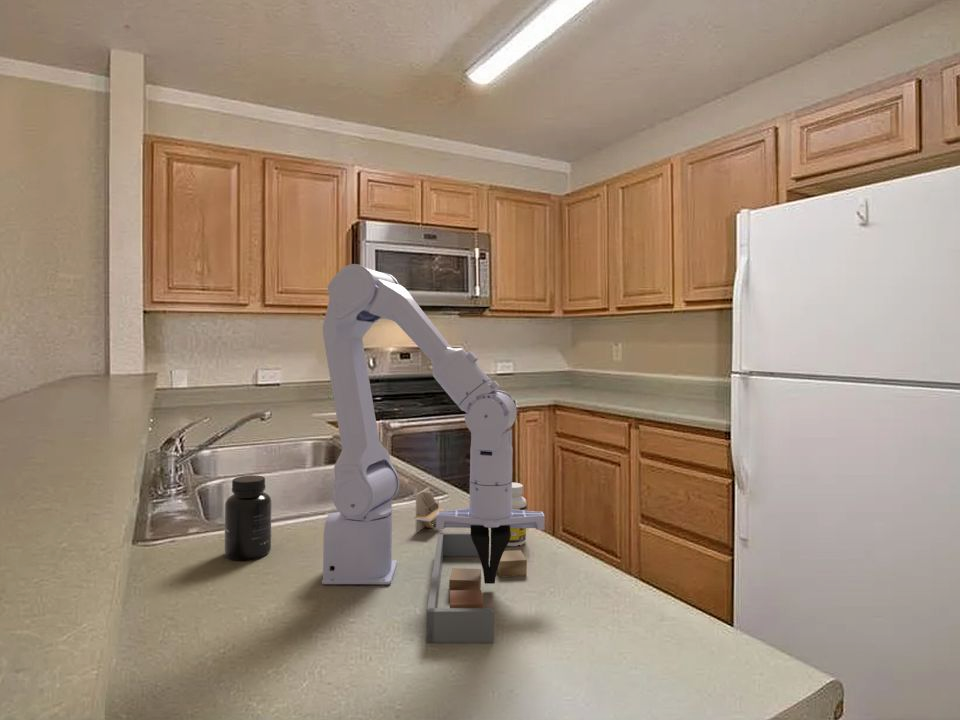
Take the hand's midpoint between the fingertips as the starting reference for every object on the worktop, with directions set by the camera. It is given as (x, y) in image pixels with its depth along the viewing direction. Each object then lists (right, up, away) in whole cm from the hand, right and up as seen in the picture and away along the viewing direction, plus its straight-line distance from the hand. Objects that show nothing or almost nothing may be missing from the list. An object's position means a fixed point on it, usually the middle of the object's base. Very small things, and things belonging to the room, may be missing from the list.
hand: (489, 580), depth 76 cm
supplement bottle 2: (+4, -1, +20) cm, 20 cm away
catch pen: (-4, -1, 0) cm, 4 cm away
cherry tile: (-3, -2, -7) cm, 8 cm away
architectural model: (-11, -2, +26) cm, 28 cm away
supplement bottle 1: (-38, -1, +12) cm, 40 cm away
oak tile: (+3, -2, +7) cm, 8 cm away
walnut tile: (-3, -2, 0) cm, 4 cm away
